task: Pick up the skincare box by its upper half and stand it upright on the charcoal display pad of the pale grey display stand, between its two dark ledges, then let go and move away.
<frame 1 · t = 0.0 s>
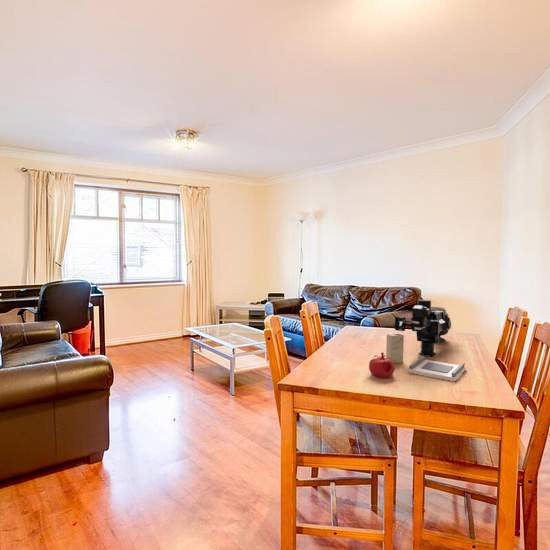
hand: (410, 328, 165), 17 cm above the table, tool horizontal, fingers open, 9 cm apart
pomegranate: (381, 376, 156), on the table
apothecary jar: (435, 340, 216), on the table
display stand: (437, 371, 161), on the table
skincare box: (394, 362, 175), on the table
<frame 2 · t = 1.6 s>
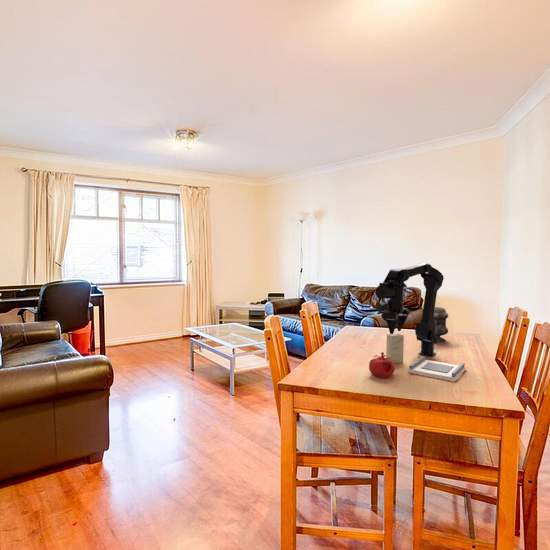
hand: (395, 332, 174), 13 cm above the table, tool pointing down, fingers open, 9 cm apart
nothing on the table moved.
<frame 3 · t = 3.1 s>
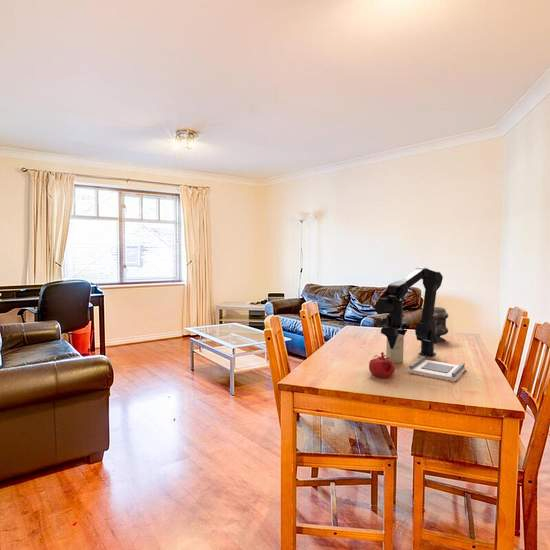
hand: (395, 347, 174), 7 cm above the table, tool pointing down, fingers closed on skincare box, 7 cm apart
skincare box: (394, 361, 175), on the table, touching gripper
everything else where it was.
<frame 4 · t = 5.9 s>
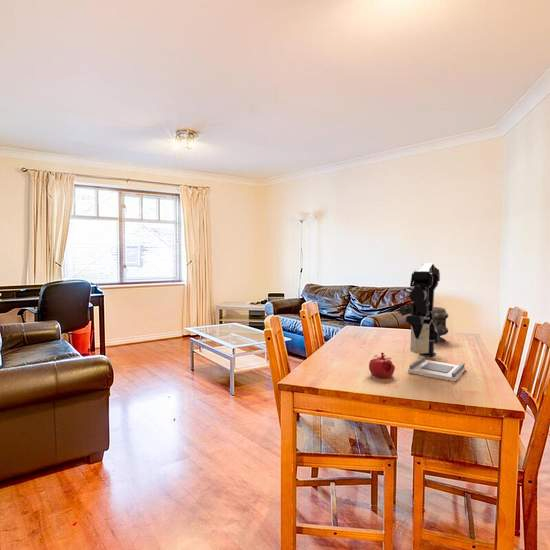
hand: (420, 336, 165), 13 cm above the table, tool pointing down, fingers closed on skincare box, 7 cm apart
skincare box: (419, 352, 166), point 6 cm above the table, touching gripper
everything else where it was.
when the fingers open (9 cm above the table, at t = 8.6 s): skincare box stays where it is, resting on display stand.
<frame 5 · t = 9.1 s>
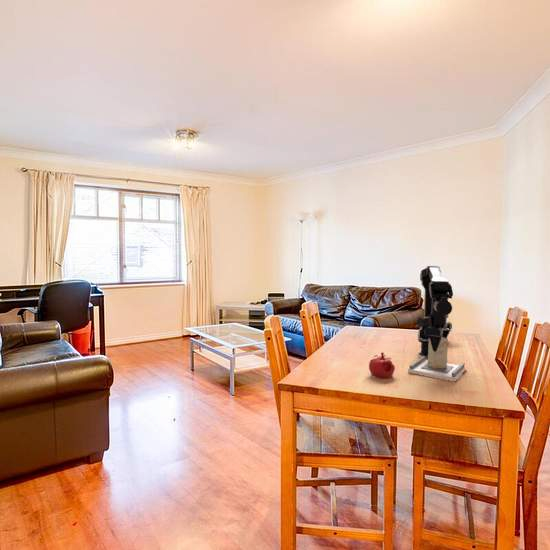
hand: (437, 349, 160), 9 cm above the table, tool pointing down, fingers open, 9 cm apart
skincare box: (437, 367, 161), point 2 cm above the table, touching display stand
everything else where it was.
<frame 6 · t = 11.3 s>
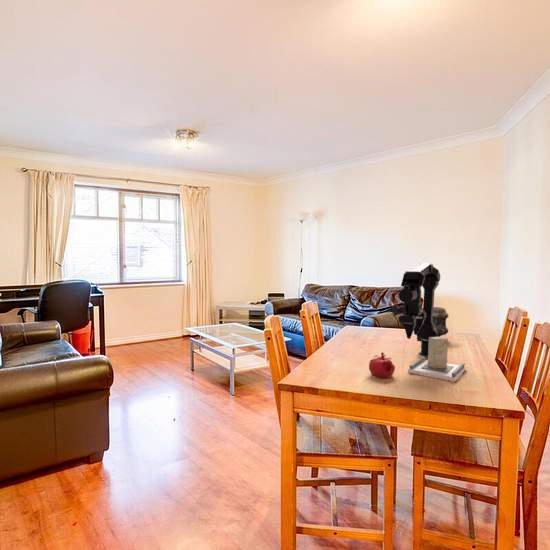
hand: (412, 336, 166), 13 cm above the table, tool pointing down, fingers open, 9 cm apart
nothing on the table moved.
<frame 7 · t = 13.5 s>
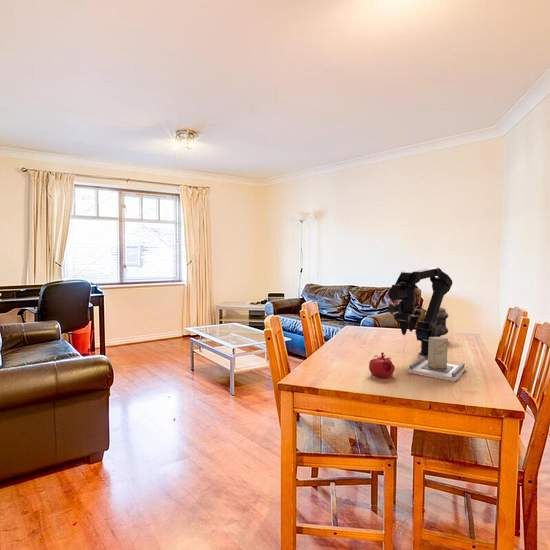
hand: (407, 333, 178), 12 cm above the table, tool pointing down, fingers open, 9 cm apart
nothing on the table moved.
at the end: skincare box 0.2 cm off-centre on the display stand, point 1.6 cm above the display stand's base; skincare box tilted 0°; the gripper is holding nothing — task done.
